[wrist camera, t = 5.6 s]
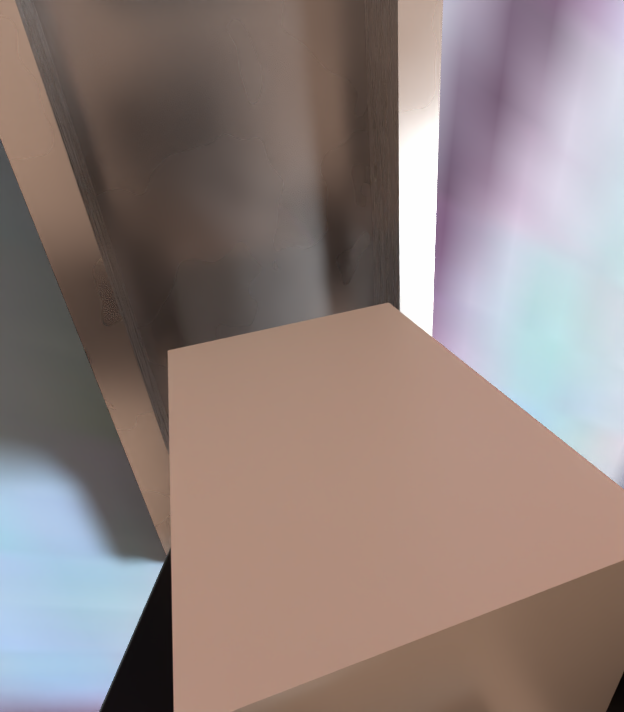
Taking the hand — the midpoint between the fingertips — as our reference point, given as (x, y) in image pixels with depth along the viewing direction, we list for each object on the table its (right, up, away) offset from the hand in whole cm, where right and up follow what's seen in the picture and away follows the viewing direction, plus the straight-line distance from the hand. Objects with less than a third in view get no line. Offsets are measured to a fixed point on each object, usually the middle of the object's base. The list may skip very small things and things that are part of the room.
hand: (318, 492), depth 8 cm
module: (0, +1, +1) cm, 1 cm away
